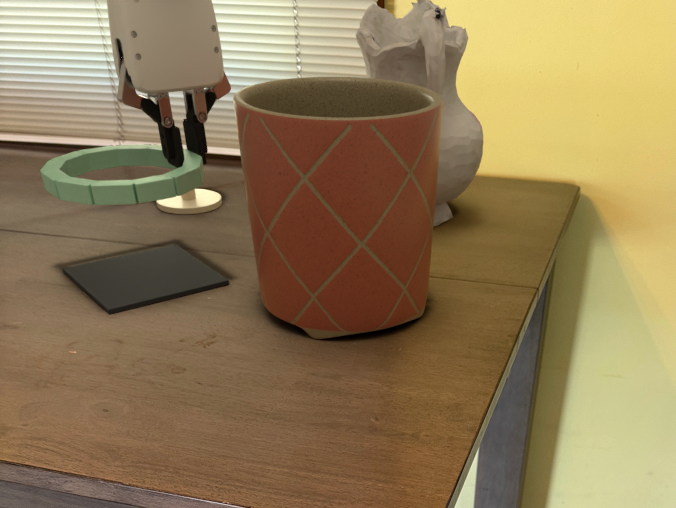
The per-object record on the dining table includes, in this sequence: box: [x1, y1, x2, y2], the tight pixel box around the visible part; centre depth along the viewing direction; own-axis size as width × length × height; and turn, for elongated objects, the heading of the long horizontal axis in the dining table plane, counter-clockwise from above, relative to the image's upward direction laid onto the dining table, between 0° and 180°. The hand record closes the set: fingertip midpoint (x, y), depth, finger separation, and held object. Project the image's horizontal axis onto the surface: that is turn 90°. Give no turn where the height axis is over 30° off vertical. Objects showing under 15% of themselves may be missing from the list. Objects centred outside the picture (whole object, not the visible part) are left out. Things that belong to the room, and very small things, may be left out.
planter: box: [232, 76, 443, 340], centre depth 75 cm, size 19×19×20 cm
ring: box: [39, 143, 205, 206], centre depth 79 cm, size 16×16×2 cm
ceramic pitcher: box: [355, 0, 484, 227], centre depth 97 cm, size 22×20×25 cm
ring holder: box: [155, 188, 223, 215], centre depth 105 cm, size 9×9×6 cm
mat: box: [62, 243, 230, 315], centre depth 86 cm, size 14×14×1 cm
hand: (187, 162), depth 82 cm, fingers closed on ring, 1 cm apart
